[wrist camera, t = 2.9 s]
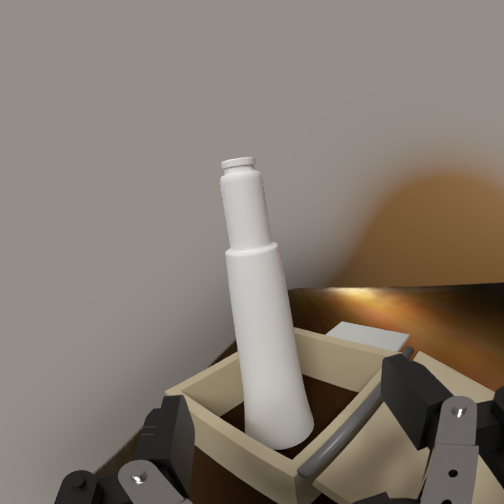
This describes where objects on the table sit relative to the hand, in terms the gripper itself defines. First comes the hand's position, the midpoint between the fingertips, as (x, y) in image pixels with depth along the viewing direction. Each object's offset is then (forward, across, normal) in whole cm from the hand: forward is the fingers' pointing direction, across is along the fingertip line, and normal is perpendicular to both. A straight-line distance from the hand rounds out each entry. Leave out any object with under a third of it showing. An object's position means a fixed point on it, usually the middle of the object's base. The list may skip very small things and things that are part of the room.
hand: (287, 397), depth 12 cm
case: (+12, -1, +12) cm, 17 cm away
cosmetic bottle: (+11, 0, +12) cm, 17 cm away
